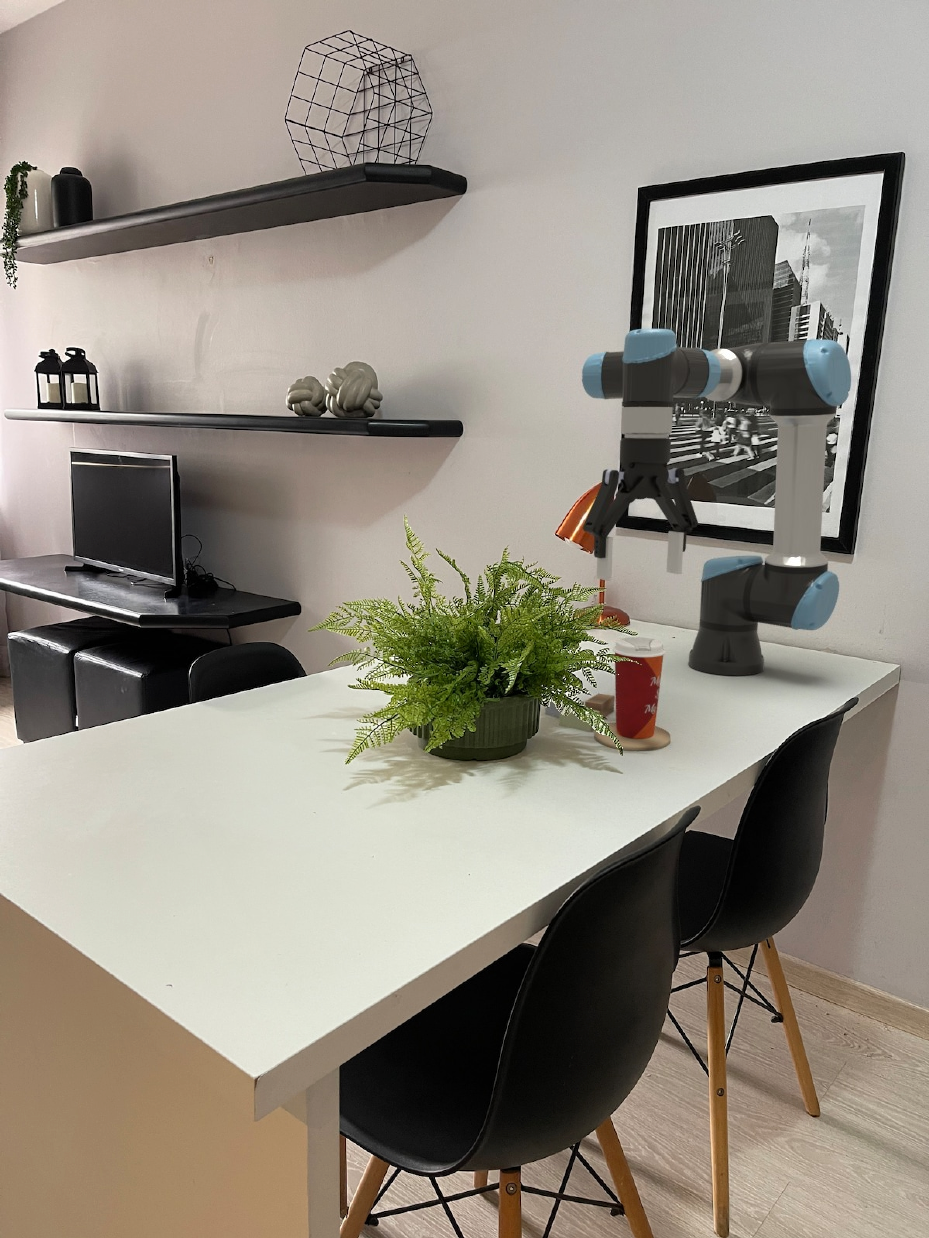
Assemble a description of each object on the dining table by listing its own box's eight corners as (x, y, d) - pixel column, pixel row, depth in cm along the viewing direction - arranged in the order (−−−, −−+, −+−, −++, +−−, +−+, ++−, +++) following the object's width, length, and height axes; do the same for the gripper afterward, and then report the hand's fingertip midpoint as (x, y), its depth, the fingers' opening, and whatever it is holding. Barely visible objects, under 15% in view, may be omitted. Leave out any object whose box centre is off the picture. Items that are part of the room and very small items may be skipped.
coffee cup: (665, 741, 148) (670, 648, 145) (612, 740, 148) (616, 647, 145) (656, 724, 156) (660, 636, 153) (606, 724, 156) (609, 635, 153)
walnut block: (598, 709, 168) (598, 693, 167) (613, 712, 166) (614, 695, 165) (584, 718, 162) (585, 701, 162) (600, 721, 161) (601, 704, 160)
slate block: (583, 718, 162) (583, 701, 162) (572, 722, 160) (572, 705, 160) (556, 711, 166) (556, 694, 166) (545, 714, 164) (545, 698, 164)
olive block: (559, 726, 158) (559, 708, 158) (568, 721, 161) (569, 704, 160) (590, 733, 155) (591, 715, 154) (599, 728, 157) (600, 711, 156)
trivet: (638, 722, 160) (638, 718, 159) (686, 743, 149) (686, 738, 149) (579, 732, 154) (579, 728, 154) (624, 755, 144) (625, 750, 143)
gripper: (692, 436, 151) (686, 567, 155) (562, 436, 139) (558, 578, 144) (726, 436, 144) (717, 573, 149) (592, 437, 133) (587, 585, 137)
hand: (639, 576), depth 146 cm, fingers open, 13 cm apart
